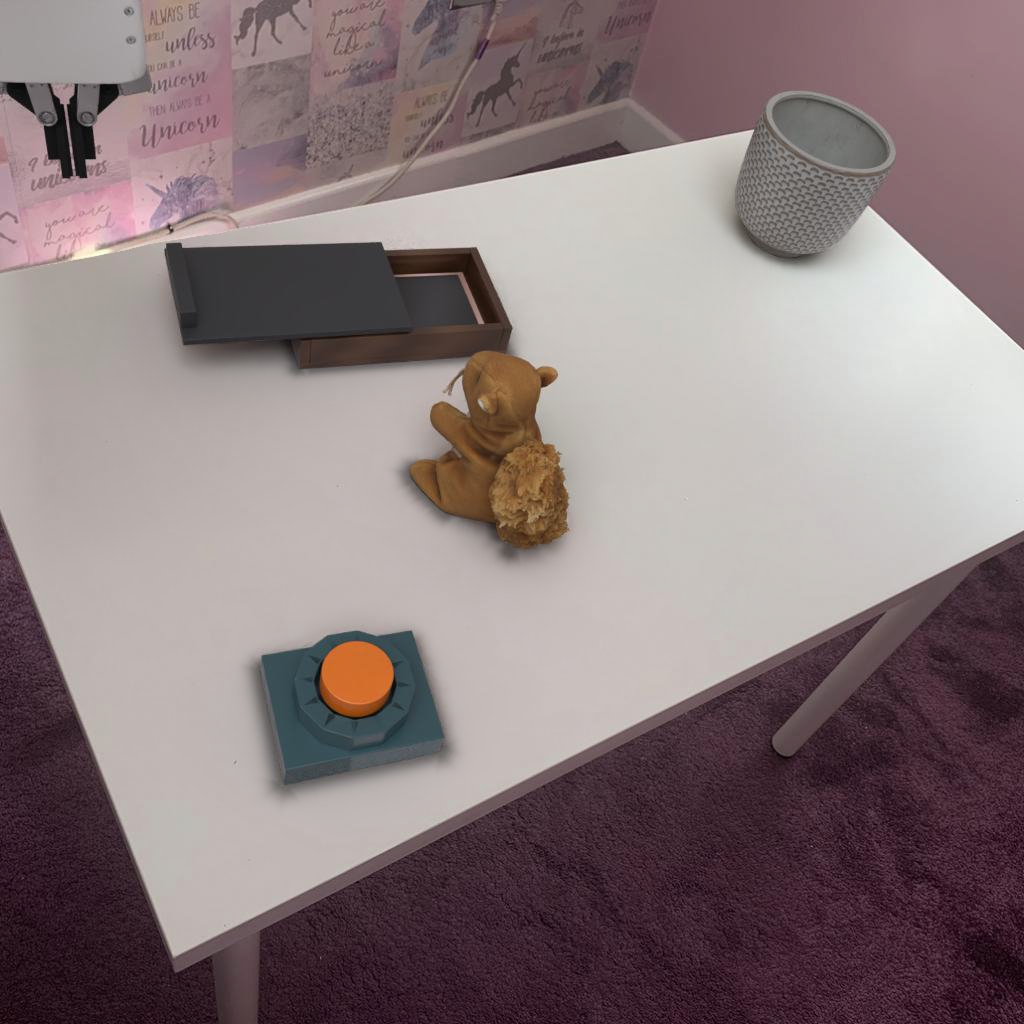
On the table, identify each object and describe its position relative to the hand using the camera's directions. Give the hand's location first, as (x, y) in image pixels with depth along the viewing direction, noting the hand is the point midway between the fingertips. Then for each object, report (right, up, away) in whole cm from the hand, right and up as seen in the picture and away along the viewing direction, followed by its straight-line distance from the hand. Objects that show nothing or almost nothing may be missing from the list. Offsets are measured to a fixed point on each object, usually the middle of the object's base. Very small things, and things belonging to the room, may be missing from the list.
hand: (73, 165), depth 72 cm
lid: (+12, -6, +15) cm, 19 cm away
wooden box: (+19, -7, +20) cm, 29 cm away
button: (+20, -34, -6) cm, 40 cm away
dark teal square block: (+19, -36, -3) cm, 41 cm away
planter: (+58, +6, +42) cm, 72 cm away
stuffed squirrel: (+28, -23, +11) cm, 38 cm away
